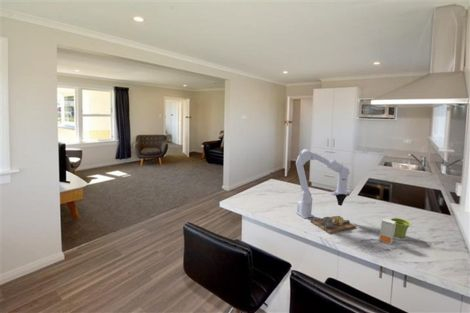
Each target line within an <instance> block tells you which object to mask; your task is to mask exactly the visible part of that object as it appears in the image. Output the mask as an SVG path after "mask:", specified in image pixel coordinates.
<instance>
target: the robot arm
mask: <svg viewBox="0 0 470 313" xmlns="http://www.w3.org/2000/svg"><path fill="white" fill-rule="evenodd" d="M310 160H311V161H315V160H317V161H318V162H319V163H322V164H324V165H326V166H327V168H328V169H329V170H331V171H332V172H333V171H334V172H335V173H338V174H337V175H338V176H337V184H336V190H334V191H331V194H330V195H331V196H333V197H335V198H336V202H337V205H338V206H343V203H344V202H345V199H346V198H347V197H348V196H347V195H348V194H349V195H350V194H352V193H351V192H352V190H349V189H347V188H348V179H349V175H350V173H351V172H350V169H349V168H348V167H347V166H346V165H345V164H343V163H340V162H338V161H337V160H336V159H334V160H333V159H328V158H326V157H325V156H322V155H320V154H318V153H317V152H315V151H313V150H309V149H308V148H304V149H302V150H300V151H299V154H298V156H297V159H296V161H295V167H296V171H297V175H298V179H299V180H298V181H299V184H300V185H299V186H300V187H301V188H300V189H301V192H302V193H301V200H298V202H297V204H296V206H297V207H296V212H295V214H297V215H298V216H301V218H303V219H308V218H314V217H315V216H314V214H312V210H313V209H312V208H313V197H312V193H311V191H310V189H309V186H308V181H307V176H306V172H305V168H304V165H306V162H308V161H310Z"/></svg>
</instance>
